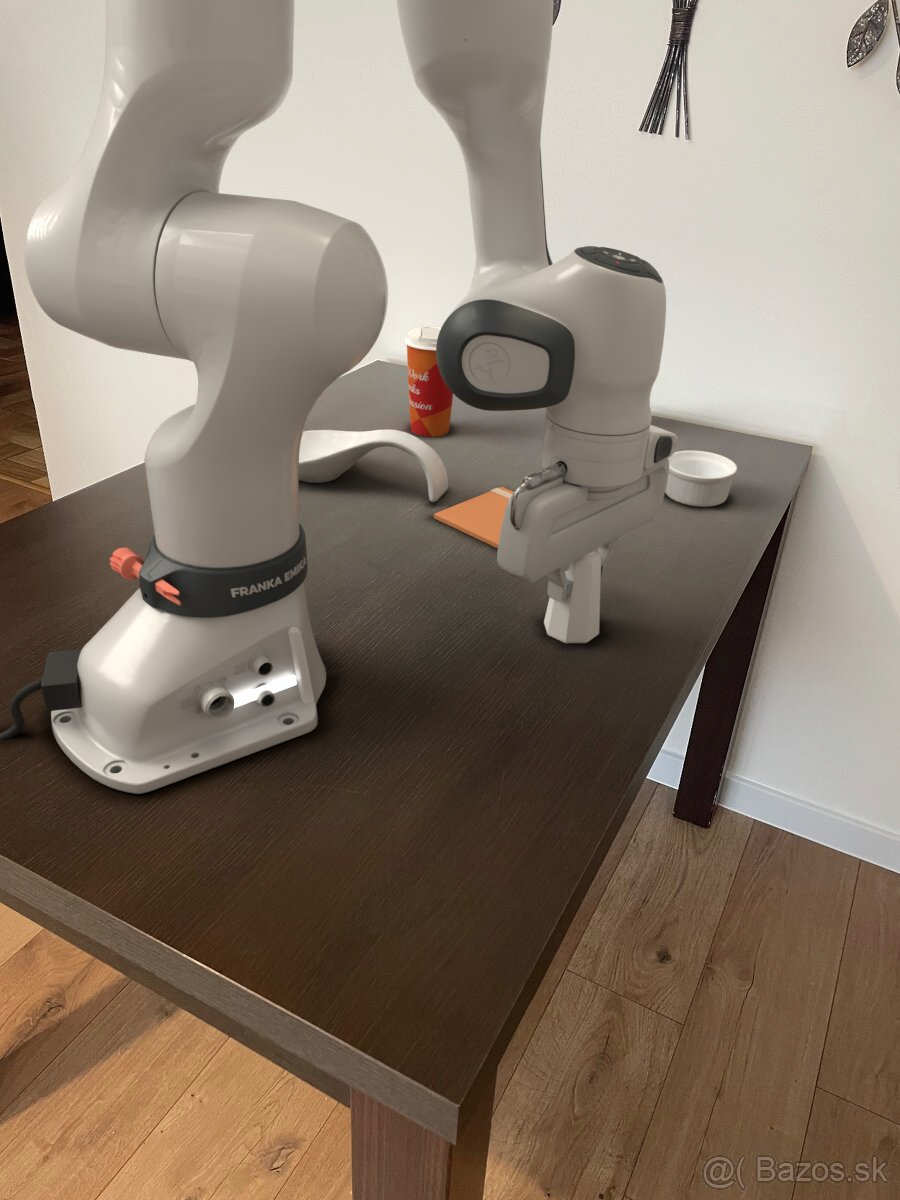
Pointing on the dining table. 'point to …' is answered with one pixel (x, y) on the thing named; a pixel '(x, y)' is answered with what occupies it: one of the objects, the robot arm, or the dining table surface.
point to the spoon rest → (341, 449)
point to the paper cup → (426, 384)
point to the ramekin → (699, 478)
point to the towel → (479, 515)
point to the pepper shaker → (577, 603)
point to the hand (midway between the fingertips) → (576, 587)
